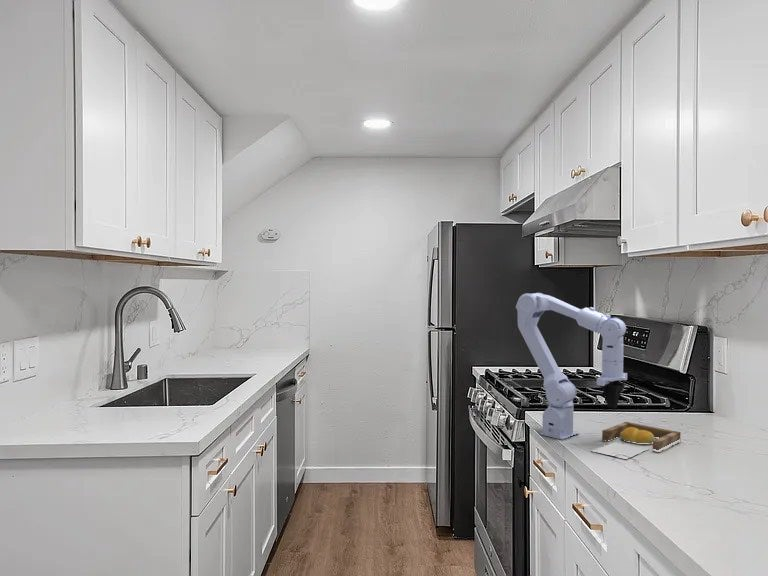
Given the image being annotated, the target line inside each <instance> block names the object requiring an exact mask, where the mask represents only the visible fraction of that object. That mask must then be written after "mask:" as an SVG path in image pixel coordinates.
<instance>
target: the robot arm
mask: <svg viewBox="0 0 768 576" xmlns="http://www.w3.org/2000/svg"><path fill="white" fill-rule="evenodd" d="M515 309H516V311H517V328H518V330H519V332H520V334H521V335H522V337H523V340H524V341H525V344H526V345H527V347H528V349H529V352H530V353H531V355H532V357H533V359H534V361H535V363H536V365H537V367H538V369H539V371H540V373H541V375H542V377H543V385H542V386H543V388H544V390H545V398H546V400H547V402H548V406H547V408H546V409H545V410H543V413H542V430H541V431H540V432H539V435H542V436H545V437H550V438H554V439H559V440H562V441H564V440H566V439H568V437H569V438H571V437H570V436H572V437H574V436H573V435H575V436H577V435H579V434H580V433H579V432H577V431H574V406H575V405H574V401H573V400H574V399H575V398H576V396H577V392H578V391H577V387H576V386H575V384H573V383H572V382H571V381H570V379H568V377H567V375H565V374H564V373H563V372H562V371H561V369H560V368H559V366H558V364H557V362H556V360H555V359H554V356H553V354H552V352H551V351H550V349H549V347H548V345H547V343H546V341H545V338H544V337H543V335H542V333H541V331H540V329H539V327H538V323H539V321H540V319H541V317H542V315H543V314H544V312H545V311H553V312H555V313H558V314H561V315H564V316H565V317H569V318H572V319H574V320H576V322H577V324H578V326H579V327H582V328H585V329H587V330H589V331H592V332H594V333H597V334H600V336H601V337H602V346H601V347H602V349H601V351H602V352H601V353H602V354H601V355H602V356H601V375H600V376H599V377H597V378H596V386H600V388H601V390H602V392H603V394H604V398H605V403H606V406H607V408H609V409H617V407H618V403H619V399H620V397H621V393H622V392H623V391H624V388H625V386H626V383H625V382H621V381H628V372H624V335H625V334H626V331H627V326H626V324H625V322H624V321H623V319H622V320H621V319H620V318H619V317H611V314H608V313H607V314H604V313H602V312H599V311H597V310H596V308H595V307H592V306H590V307H583V308H578V307H576V306H574V305H571V304H570V303H567V302H565V301H563V300H561V299H558V298H556V297H554V296H552V295H549V294H544V293H542V292H535V293H527V292H526V293H523V294H521V295H520V296H519V298H518V300H517V303H516V305H515ZM576 434H577V435H576ZM565 438H566V439H565Z"/></svg>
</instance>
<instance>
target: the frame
mask: <svg viewBox="0 0 768 576" xmlns="http://www.w3.org/2000/svg"><path fill="white" fill-rule="evenodd" d="M628 427H634V428H637V429H638V430H645V431H649V432H651V433H652V434H653V435H654V437H659V439H655V440H654V441H653V444H652V450H653V449H656V450H659V449H661V448H663V447H665V446H667V445H669V444H671V443H673V442H675V441H677V440H679V439H680V440H681V431H678V430H672V429H671V430H670V429H665V428H660V427H655V426H650V425H645V424H639V423H635V422H628V421H624V422H622V423H619V424H616V425H613V426H611V427H609V428H608V427H607V428H605V429H603V430H602V431H601V433H602V434H601V435H602V436H601V441H602V440H606V441H608V440H611V439H613V440H615V439H614V438H616V437H618V438H620V437H619V436H620V434H621V432H622V431H624V430H625V429H626V428H628ZM616 439H617V438H616ZM611 441H612V440H611ZM608 442H609V441H608Z"/></svg>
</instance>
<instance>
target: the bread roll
mask: <svg viewBox="0 0 768 576" xmlns="http://www.w3.org/2000/svg"><path fill="white" fill-rule="evenodd" d="M619 438H620V440H622V439H623V440H625V441H630V442H636V443H652V442H653V441H654V440H656V439H655V438H654V435H653V434H652V433H651V432H649V431H645V430H638V429H637V428H634V427H628V428H626V429H625V430H624V431H622V432H621V434H620V437H619ZM623 440H622V441H623ZM625 441H624V442H625Z"/></svg>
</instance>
